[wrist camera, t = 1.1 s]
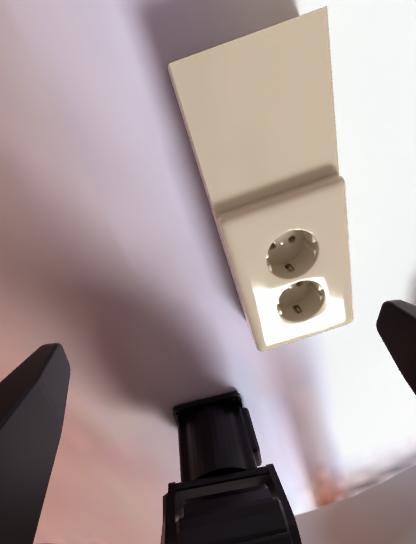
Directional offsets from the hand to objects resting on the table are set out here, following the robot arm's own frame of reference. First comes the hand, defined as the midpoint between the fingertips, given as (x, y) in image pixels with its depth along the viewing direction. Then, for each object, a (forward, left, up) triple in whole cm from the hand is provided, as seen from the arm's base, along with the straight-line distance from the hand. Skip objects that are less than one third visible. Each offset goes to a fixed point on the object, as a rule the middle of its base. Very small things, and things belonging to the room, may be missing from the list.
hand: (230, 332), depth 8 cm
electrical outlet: (+5, -1, -13) cm, 14 cm away
